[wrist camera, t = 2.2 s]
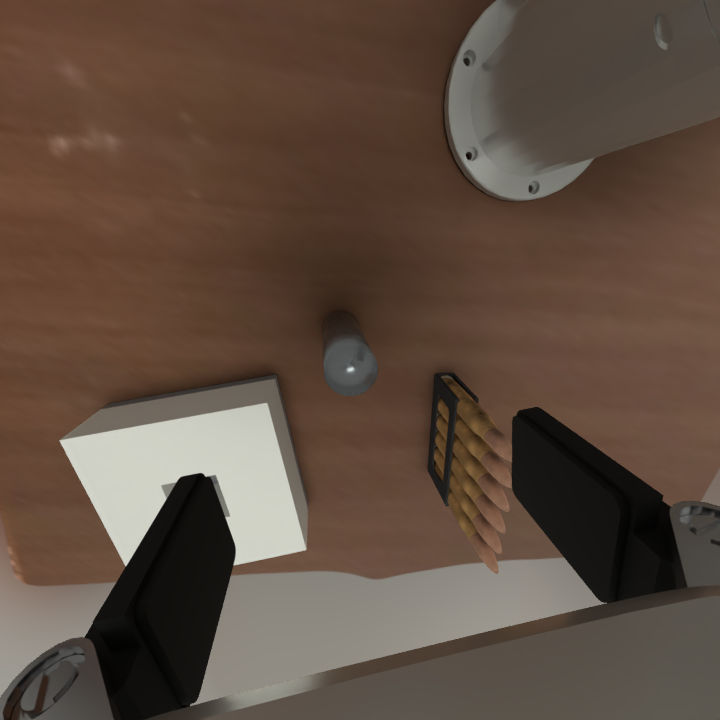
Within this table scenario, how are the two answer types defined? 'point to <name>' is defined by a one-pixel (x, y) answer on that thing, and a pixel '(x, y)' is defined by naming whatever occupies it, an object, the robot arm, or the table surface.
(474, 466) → the ammunition clip
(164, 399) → the socket block
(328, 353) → the pin
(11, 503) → the table surface
